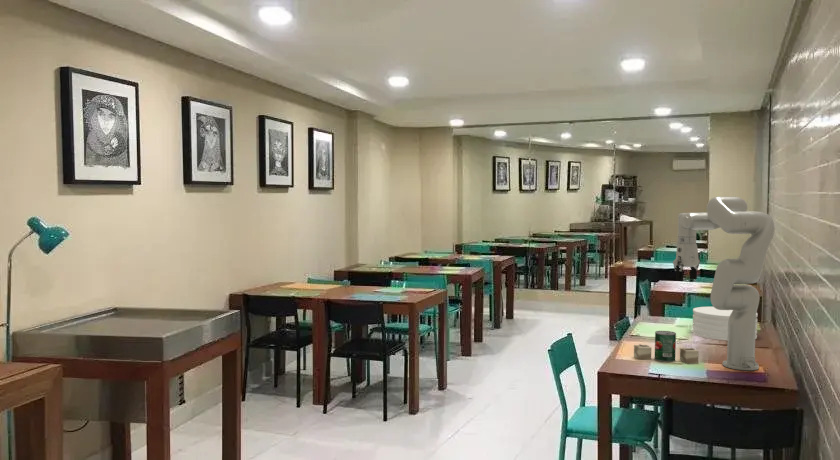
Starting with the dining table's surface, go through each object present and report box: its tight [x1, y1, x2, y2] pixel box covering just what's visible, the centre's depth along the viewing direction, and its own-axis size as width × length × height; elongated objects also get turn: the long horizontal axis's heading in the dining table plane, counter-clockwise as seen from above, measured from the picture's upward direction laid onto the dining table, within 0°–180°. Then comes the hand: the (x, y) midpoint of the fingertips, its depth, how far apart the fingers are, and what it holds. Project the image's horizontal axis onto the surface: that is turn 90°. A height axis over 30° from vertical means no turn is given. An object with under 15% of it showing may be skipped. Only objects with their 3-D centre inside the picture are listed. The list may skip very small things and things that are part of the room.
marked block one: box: [679, 347, 700, 364], centre depth 259 cm, size 5×5×5 cm
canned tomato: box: [654, 330, 677, 363], centre depth 262 cm, size 8×8×11 cm
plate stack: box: [691, 306, 758, 342], centre depth 313 cm, size 28×28×12 cm
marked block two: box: [633, 344, 652, 361], centre depth 264 cm, size 5×5×5 cm
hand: (686, 279), depth 288 cm, fingers open, 9 cm apart
